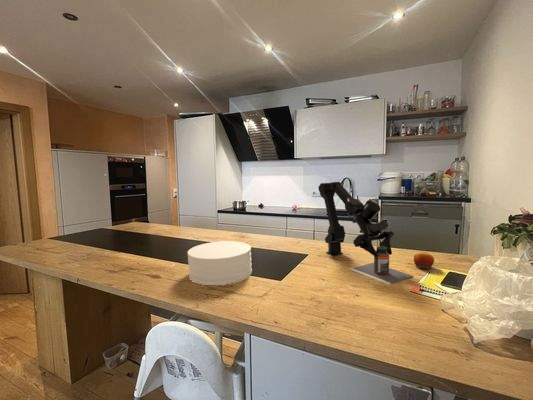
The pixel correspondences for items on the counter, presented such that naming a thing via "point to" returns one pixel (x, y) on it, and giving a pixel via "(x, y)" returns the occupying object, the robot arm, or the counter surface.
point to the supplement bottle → (381, 261)
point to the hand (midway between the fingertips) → (384, 255)
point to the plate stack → (219, 263)
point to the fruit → (423, 260)
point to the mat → (386, 279)
